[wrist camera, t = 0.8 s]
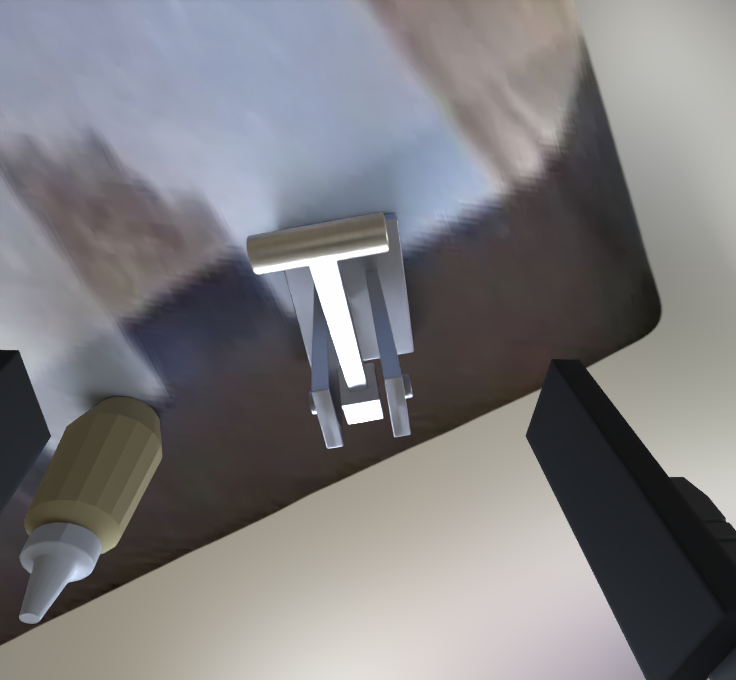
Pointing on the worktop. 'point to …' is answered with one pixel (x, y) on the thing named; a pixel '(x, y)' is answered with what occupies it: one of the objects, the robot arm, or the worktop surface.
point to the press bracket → (359, 332)
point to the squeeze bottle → (87, 496)
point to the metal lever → (331, 292)
